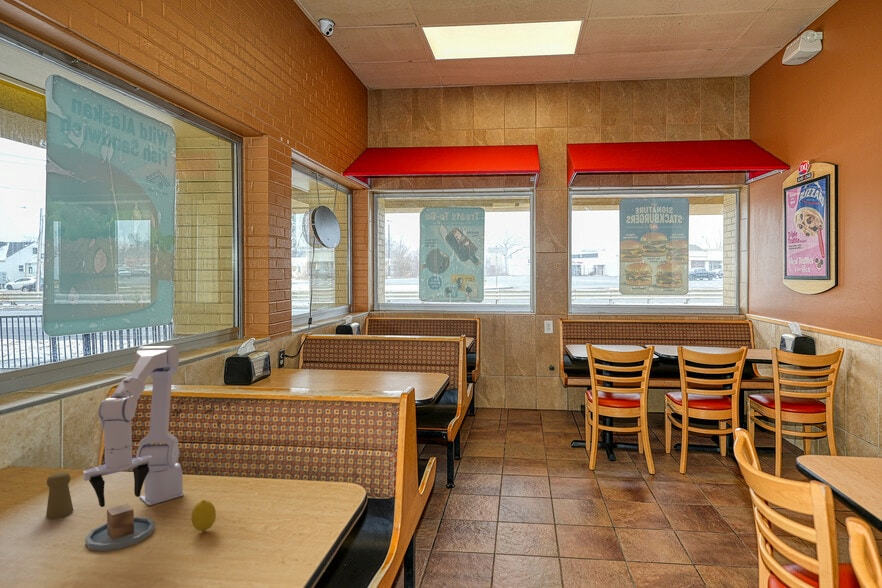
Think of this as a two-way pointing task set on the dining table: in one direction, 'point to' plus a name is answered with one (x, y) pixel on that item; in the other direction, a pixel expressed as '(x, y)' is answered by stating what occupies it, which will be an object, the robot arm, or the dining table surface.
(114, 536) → the block
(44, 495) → the dining table surface
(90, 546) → the plate
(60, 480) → the cork
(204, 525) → the lemon
